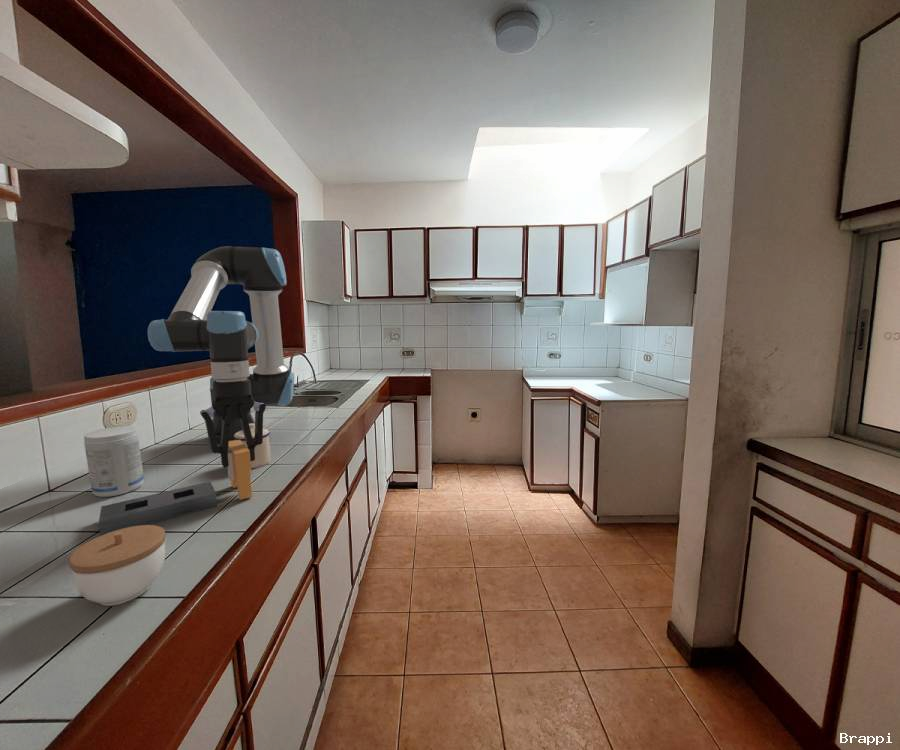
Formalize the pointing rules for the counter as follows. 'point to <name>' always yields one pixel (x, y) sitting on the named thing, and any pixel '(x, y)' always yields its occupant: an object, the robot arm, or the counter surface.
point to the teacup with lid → (257, 447)
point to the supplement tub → (114, 460)
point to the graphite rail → (156, 507)
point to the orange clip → (241, 468)
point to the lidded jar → (119, 564)
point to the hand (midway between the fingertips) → (240, 476)
